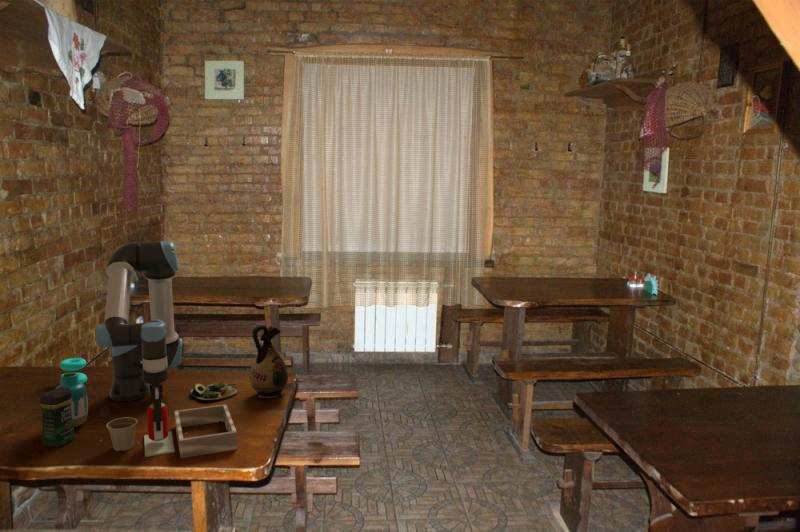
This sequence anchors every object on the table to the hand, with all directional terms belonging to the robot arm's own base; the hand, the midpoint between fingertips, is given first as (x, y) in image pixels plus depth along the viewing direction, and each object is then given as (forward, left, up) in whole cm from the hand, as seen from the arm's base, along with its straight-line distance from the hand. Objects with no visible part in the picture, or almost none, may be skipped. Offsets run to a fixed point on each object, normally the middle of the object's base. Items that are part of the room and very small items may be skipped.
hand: (158, 434), depth 208 cm
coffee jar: (-14, -31, -4) cm, 34 cm away
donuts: (-75, -31, -4) cm, 81 cm away
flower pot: (-2, -11, -4) cm, 12 cm away
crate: (0, +15, -4) cm, 15 cm away
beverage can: (0, 0, -2) cm, 2 cm away
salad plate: (-41, +22, -4) cm, 47 cm away
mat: (0, 0, -4) cm, 4 cm away
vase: (-27, -28, -4) cm, 39 cm away
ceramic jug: (-32, +43, -4) cm, 54 cm away
